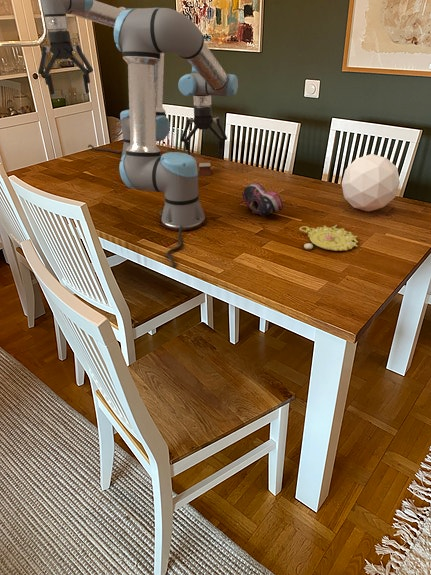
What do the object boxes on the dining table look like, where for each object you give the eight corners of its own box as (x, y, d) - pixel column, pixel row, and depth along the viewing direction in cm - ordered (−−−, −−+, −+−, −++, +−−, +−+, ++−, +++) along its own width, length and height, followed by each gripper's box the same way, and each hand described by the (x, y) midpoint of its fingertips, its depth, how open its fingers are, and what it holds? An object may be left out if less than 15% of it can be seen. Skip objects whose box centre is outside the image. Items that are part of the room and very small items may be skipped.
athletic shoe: (254, 181, 170) (227, 189, 167) (283, 176, 151) (253, 185, 147) (260, 210, 173) (234, 218, 170) (290, 209, 154) (261, 219, 150)
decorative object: (343, 255, 128) (285, 234, 139) (342, 262, 130) (284, 241, 140) (372, 230, 142) (317, 213, 152) (371, 237, 143) (316, 219, 153)
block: (199, 172, 203) (199, 163, 200) (210, 171, 203) (210, 162, 201) (199, 175, 198) (199, 166, 196) (210, 175, 198) (210, 166, 196)
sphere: (373, 230, 162) (391, 201, 143) (326, 202, 166) (337, 171, 147) (398, 193, 166) (419, 160, 148) (352, 167, 171) (366, 133, 152)
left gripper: (20, 32, 158) (35, 96, 169) (90, 29, 158) (100, 93, 169) (27, 31, 164) (40, 92, 175) (94, 28, 164) (103, 90, 176)
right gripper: (172, 108, 182) (176, 160, 193) (232, 106, 182) (233, 158, 193) (173, 105, 188) (176, 155, 199) (231, 103, 188) (231, 153, 200)
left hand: (70, 93), depth 172 cm, fingers open, 13 cm apart
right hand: (204, 156), depth 196 cm, fingers open, 13 cm apart
